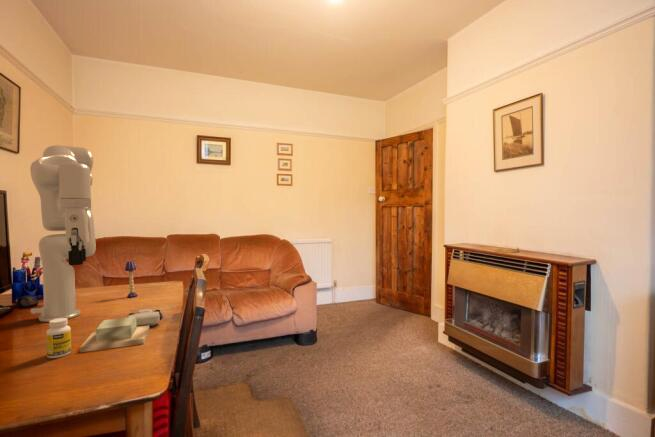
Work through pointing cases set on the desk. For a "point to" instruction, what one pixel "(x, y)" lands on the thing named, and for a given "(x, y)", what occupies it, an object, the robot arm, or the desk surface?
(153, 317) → the robot toy
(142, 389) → the desk surface
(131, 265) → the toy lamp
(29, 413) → the desk surface
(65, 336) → the supplement bottle
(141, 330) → the base board
